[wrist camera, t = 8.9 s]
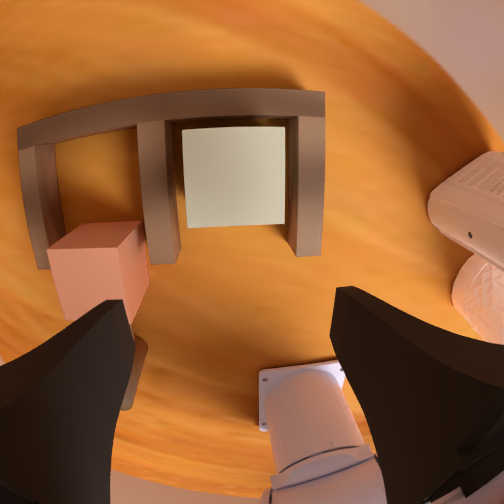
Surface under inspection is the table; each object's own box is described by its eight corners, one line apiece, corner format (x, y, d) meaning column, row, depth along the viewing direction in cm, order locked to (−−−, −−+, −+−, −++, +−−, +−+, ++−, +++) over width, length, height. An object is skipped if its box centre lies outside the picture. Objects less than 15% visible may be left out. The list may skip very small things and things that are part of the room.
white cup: (436, 318, 24) (495, 382, 15) (460, 243, 21) (539, 294, 12) (480, 310, 25) (533, 359, 15) (501, 245, 22) (567, 286, 13)
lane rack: (309, 241, 19) (320, 255, 17) (54, 255, 18) (38, 269, 15) (311, 97, 16) (324, 91, 14) (37, 127, 14) (17, 128, 12)
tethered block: (163, 356, 22) (151, 413, 16) (113, 354, 21) (93, 406, 16) (142, 220, 18) (110, 255, 12) (82, 223, 17) (37, 256, 12)
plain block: (268, 201, 18) (284, 223, 14) (196, 204, 18) (187, 228, 13) (268, 130, 17) (284, 127, 12) (193, 133, 16) (181, 130, 12)
